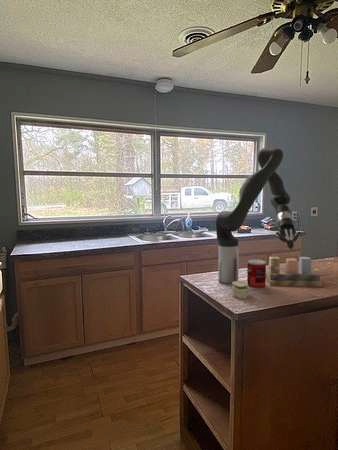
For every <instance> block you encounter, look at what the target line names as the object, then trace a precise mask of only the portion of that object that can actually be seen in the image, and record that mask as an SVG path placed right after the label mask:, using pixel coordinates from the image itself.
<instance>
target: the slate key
mask: <svg viewBox="0 0 338 450" xmlns="http://www.w3.org/2000/svg"><path fill="white" fill-rule="evenodd" d="M298 265H299V266H298V272H299V274H311V273H312V258H311V257H309V256H299V261H298Z"/></svg>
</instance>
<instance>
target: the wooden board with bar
mask: <svg viewBox="0 0 338 450" xmlns="http://www.w3.org/2000/svg"><path fill="white" fill-rule="evenodd" d="M266 281H267V283H268V284H269V286H271V287H272V286H274V287H276V286H277V287H314V286H315V287H317V288H319V287H320V288H321V287H323V286H324V285H323V284H324V283H323V281H322V280H321V275H320V274H319V273H317V274H316V273H315V274H313V273H312V272H311V274H299V271H297V274H286V271H280V273H279V274H270V273H269V271H266Z"/></svg>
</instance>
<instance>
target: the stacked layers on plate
mask: <svg viewBox="0 0 338 450" xmlns="http://www.w3.org/2000/svg"><path fill="white" fill-rule="evenodd" d="M231 284H232V285H231V288H232V290H231V292H232V297H236V298H237V299H239V300H243V299H247V298H248V295H249V293H248V290H249V287H248V286H249V285H248V283H247V281H244V280H238V281H235V282H232V283H231Z"/></svg>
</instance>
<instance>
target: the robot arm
mask: <svg viewBox="0 0 338 450" xmlns="http://www.w3.org/2000/svg"><path fill="white" fill-rule="evenodd" d="M283 159H284V152H283V150H282V149H280V148H277V147H276V148H275V147H274V148H273V147H270V148H269V147H263V148H261V149H260V150H259V152H258V154H257V162H258V165H259V167H260V169H259V170H257V171H255V172H254V173H252V174H250V175H249V176H248V177H247V178H246V179H245V180H244V182H243V183H242V185H241V187H240V189H239V194H238V195H239V201H238V203H237V204H236V207H234V209H233V210H232V211H229V210H227V211H226V210H222V211H220V212H219V213H218V214H217V216H216V219H215V230H216V232H215V233H216V239H217V243H218V260H217V261H218V265H217V267H218V283H224V284H232V282H235V281H239V240H238V238H237V237H236V236H234V235H233V233H232V232H237V231H238V230H239V229H241V227H242V226H243V225H244V222H245V219H246V218H247V216H248V214H249V212H250V210H251V208H252V206H253V205H254V203H255V202H256V200H257V198H258V197H259V195H260V193H261V192H262V191H263V189H264V187H265V185H266V184H267V182H268V185H269V189H270V192H271V194H272V195H271V197H270V203H271V205H272V207H273V208H274V210H275V213H276V219H277V220H276V221H277V225H278V229H279V230H278V231H276V232H275V235H274V236H275V237H276V238H277V239H279V240H280V241H281V242H282V243H286V246H287V248H288V249H289V250H291V249H293V248H294V246H295V245H294V243H296V241H297V240H298V239H299V237H300V236H301V234H302V233H301V231H297V230H296V229H295V225H294V220H293V216H292V214H291V211H290V208H289V206H288V204H290V203H291V196H290V195H289V193H288V192H287V191H286V189H285V186H284V182H283V179H282V178H281V176H280V175H279V174H278V173H277V172H276V170H277V169H279V166H280V165H281V163H282V161H283Z"/></svg>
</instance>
